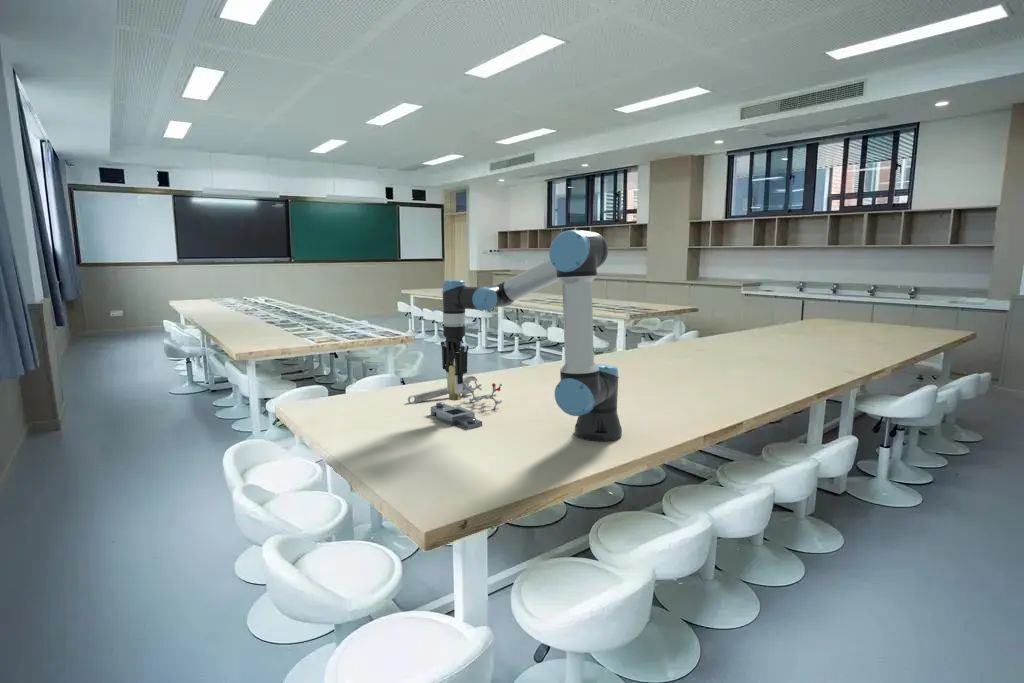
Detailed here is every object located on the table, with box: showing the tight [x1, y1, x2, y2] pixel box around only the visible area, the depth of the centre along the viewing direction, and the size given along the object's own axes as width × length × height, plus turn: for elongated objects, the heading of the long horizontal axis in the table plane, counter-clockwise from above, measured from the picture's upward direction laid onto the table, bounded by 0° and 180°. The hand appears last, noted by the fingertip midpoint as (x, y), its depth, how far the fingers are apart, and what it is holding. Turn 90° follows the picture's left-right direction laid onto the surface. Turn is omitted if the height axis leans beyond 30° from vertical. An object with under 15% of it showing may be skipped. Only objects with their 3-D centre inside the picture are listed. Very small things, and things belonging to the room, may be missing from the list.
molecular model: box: [463, 381, 503, 410], centre depth 213 cm, size 19×10×10 cm, turn 34°
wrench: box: [407, 374, 478, 404], centre depth 223 cm, size 8×2×30 cm
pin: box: [448, 363, 462, 402], centre depth 192 cm, size 4×4×12 cm
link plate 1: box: [430, 401, 476, 422], centre depth 197 cm, size 16×10×4 cm, turn 41°
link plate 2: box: [436, 413, 483, 430], centre depth 192 cm, size 16×10×2 cm, turn 41°
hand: (454, 391), depth 193 cm, fingers closed on pin, 4 cm apart
